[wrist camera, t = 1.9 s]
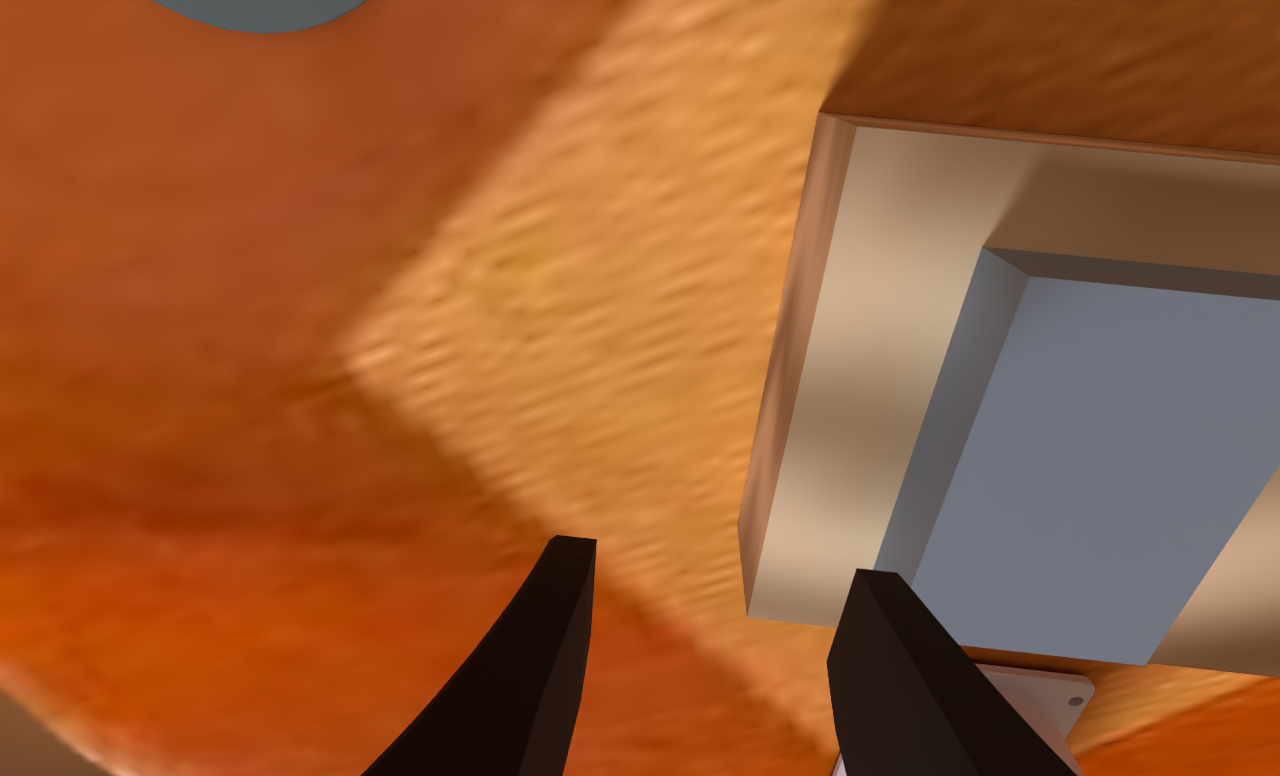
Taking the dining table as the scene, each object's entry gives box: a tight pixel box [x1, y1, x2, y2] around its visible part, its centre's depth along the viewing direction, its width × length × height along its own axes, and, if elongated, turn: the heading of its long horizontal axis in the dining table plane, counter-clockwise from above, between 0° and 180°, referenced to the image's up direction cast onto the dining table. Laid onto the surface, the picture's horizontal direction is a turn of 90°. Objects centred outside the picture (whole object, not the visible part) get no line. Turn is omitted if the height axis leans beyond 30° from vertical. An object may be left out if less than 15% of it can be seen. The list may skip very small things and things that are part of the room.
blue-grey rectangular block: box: [873, 247, 1280, 666], centre depth 14 cm, size 9×6×2 cm, turn 175°
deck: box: [737, 112, 1280, 678], centre depth 16 cm, size 13×16×4 cm
